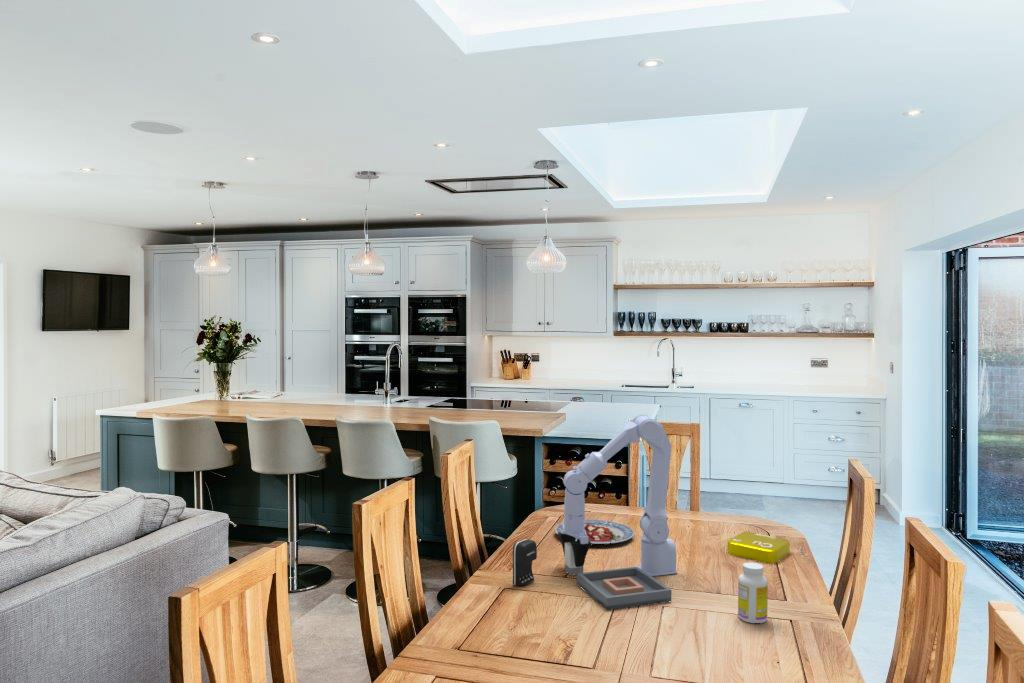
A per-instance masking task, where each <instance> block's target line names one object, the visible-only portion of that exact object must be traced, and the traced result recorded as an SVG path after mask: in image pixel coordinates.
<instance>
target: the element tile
mask: <svg viewBox="0 0 1024 683" xmlns="http://www.w3.org/2000/svg"><path fill="white" fill-rule="evenodd" d="M790 545H791V542H790V540H789V539H785V538H782V537H777V536H771V535H767V534H761V533H756V532H751V531H743V532H741V533H739V534H737V535H735V536H734V537H732V538H730V539H729V540H727V549H726V550H727V553H728V554H727V555H729V554H730V555H729V556H732V555H734V556H733V557H737V556H738V557H737V558H741V557H742V558H741V559H745V558H747V559H746V560H750V559H752V561H754V560H756V561H755V562H759V561H760V563H763V562H765V563H764V564H768V563H776V564H778V563H779V562H780V561H782V560H783V559H784V558H783V557H785V556H786V555H787V556H789V555H790V554H789V553H791V550H790V547H791V546H790ZM788 554H789V555H788ZM787 556H786V557H787ZM786 557H785V558H786ZM782 558H783V559H782ZM781 559H782V560H781ZM779 560H780V561H779ZM778 561H779V562H778Z"/></svg>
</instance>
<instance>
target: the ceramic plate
mask: <svg viewBox="0 0 1024 683" xmlns="http://www.w3.org/2000/svg"><path fill="white" fill-rule="evenodd" d="M584 529H585V531H586V535H587V536H588V541H590V542H591V545H592V544H604V545H610V543H611V544H616V543H617V544H618V543H622V542H625V541H628V540H630V539H632V538H633V537H634V536H635V531H634V530H633V529H632V528H631V527H629V526H627V525H625V524H622V523H620V522H615V521H608V520H601V519H600V520H599V519H585V528H584ZM560 530H561V523H560V524H558V525H557V526H555V528H554V531H555V534H557V535H558V533H559V532H560ZM575 541H577V539H576V540H575Z"/></svg>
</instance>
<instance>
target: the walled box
mask: <svg viewBox="0 0 1024 683" xmlns="http://www.w3.org/2000/svg"><path fill="white" fill-rule="evenodd" d="M577 584H578V585H579V586H580V587H582V588H583V589H584V590H585V591H586V592H587V593H588V594H587V593H586V592H585V591H584V590H583V589H582V588H581V589H582V590H583V591H584V592H585V593H586V594H587V595H589V596H590V598H592V597H593V598H594V599H595V601H596V602H597V603H598V604H599V605H600V604H601V605H602V606H601V605H600V606H601V607H602V608H604V609H605V608H606V609H607V610H606V609H605V610H606V611H612V610H611V609H613V610H618V609H619V610H620V609H625V608H626V609H627V607H628V608H634V607H633V606H635V607H641V605H643V606H649V605H648V604H650V605H655V604H654V603H658V604H662V603H661V602H665V603H670V602H669V601H671V602H672V589H671V588H670V587H668V586H667V585H665V584H663V583H662V582H661V581H659V580H657V579H656V578H654V576H650V575H649V574H647V573H646V572H644V571H643V570H641V569H640V568H638V567H635V566H631V567H625V568H623V567H621V568H614V569H613V568H612V569H606V570H596V571H588V572H583V573H577V576H576V585H577ZM578 585H577V586H578ZM579 586H578V587H579ZM580 587H579V588H580ZM593 598H592V599H593ZM594 599H593V600H594Z"/></svg>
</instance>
